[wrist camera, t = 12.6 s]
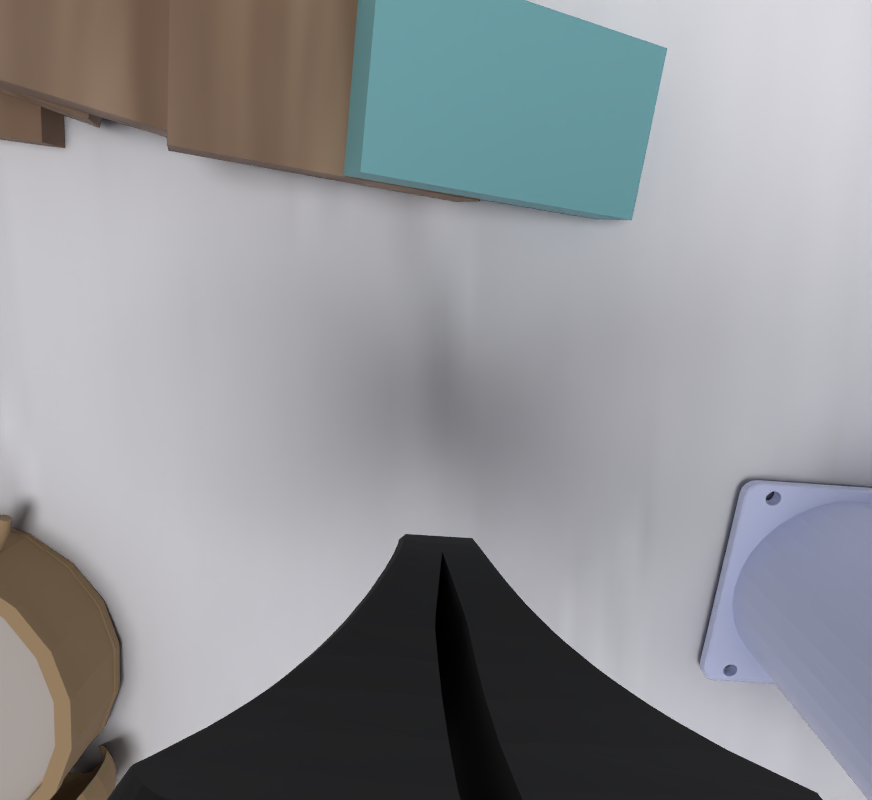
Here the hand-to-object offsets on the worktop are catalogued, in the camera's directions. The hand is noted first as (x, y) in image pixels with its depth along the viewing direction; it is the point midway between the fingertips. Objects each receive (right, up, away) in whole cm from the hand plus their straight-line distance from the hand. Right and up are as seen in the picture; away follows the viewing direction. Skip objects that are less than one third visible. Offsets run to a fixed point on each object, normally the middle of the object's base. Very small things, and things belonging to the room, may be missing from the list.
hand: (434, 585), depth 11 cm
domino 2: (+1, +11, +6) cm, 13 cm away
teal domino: (+6, +11, +6) cm, 14 cm away
